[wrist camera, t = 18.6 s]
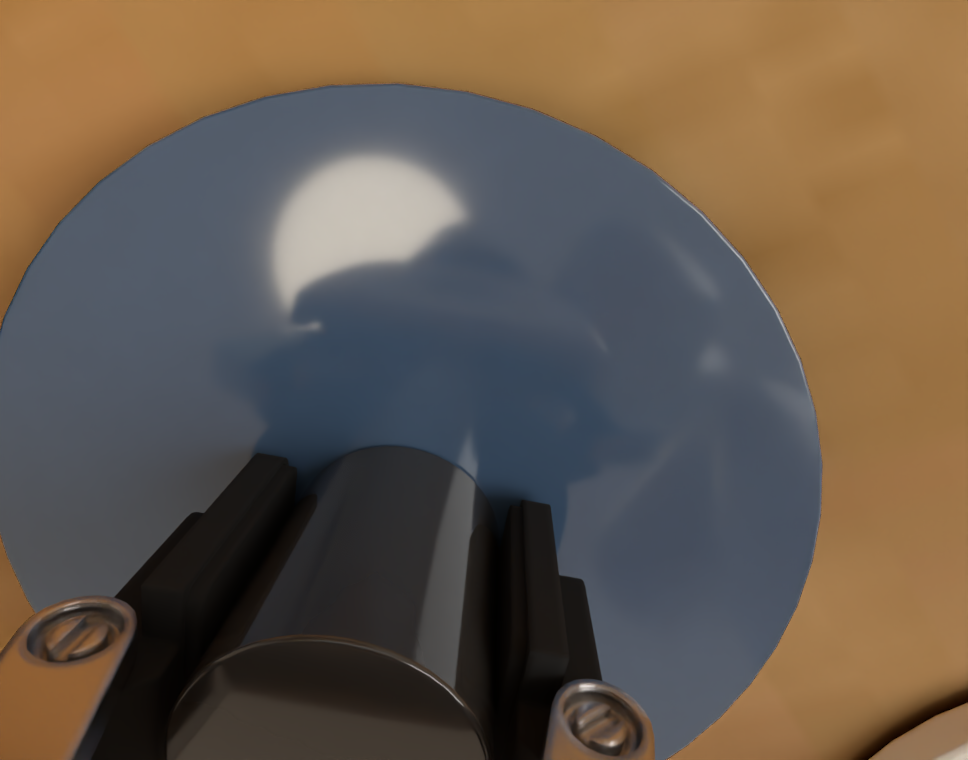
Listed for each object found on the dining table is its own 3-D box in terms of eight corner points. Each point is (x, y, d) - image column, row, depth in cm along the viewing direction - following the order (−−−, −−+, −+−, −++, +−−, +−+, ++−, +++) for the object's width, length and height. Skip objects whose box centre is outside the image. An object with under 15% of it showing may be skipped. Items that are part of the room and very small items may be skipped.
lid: (928, 186, 11) (1420, 213, 5) (671, 827, 16) (764, 1203, 10) (-4, 7, 10) (-657, -195, 5) (49, 724, 16) (-223, 1056, 10)
